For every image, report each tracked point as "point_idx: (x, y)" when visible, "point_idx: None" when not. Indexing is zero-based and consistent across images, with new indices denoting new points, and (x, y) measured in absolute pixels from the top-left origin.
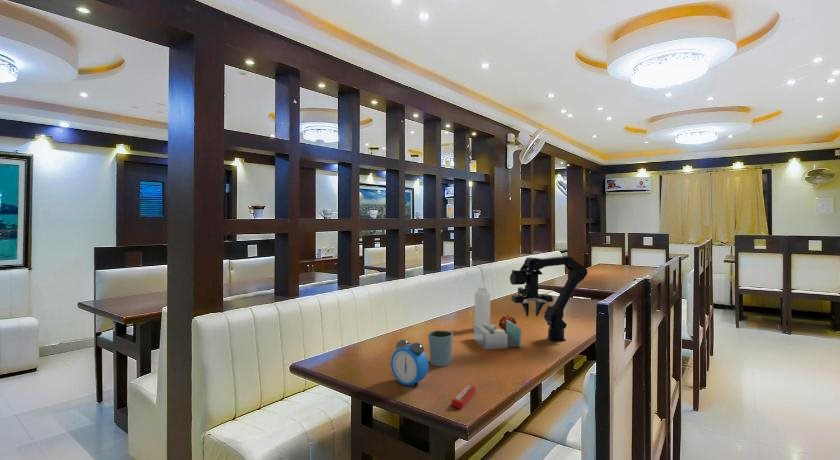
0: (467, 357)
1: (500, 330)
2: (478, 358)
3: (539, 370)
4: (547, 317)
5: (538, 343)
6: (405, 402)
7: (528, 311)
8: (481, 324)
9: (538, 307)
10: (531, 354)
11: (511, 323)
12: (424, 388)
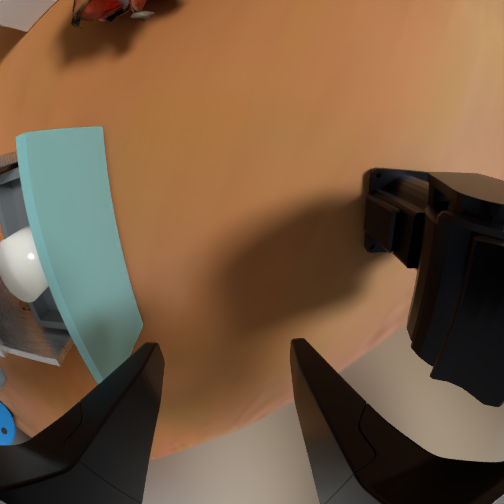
0: (13, 358)
1: (19, 266)
2: (34, 371)
3: (176, 449)
4: (432, 295)
5: (259, 273)
6: (27, 434)
7: (150, 440)
8: (4, 23)
9: (319, 489)
10: (176, 389)
11: (43, 265)
12: (23, 423)
